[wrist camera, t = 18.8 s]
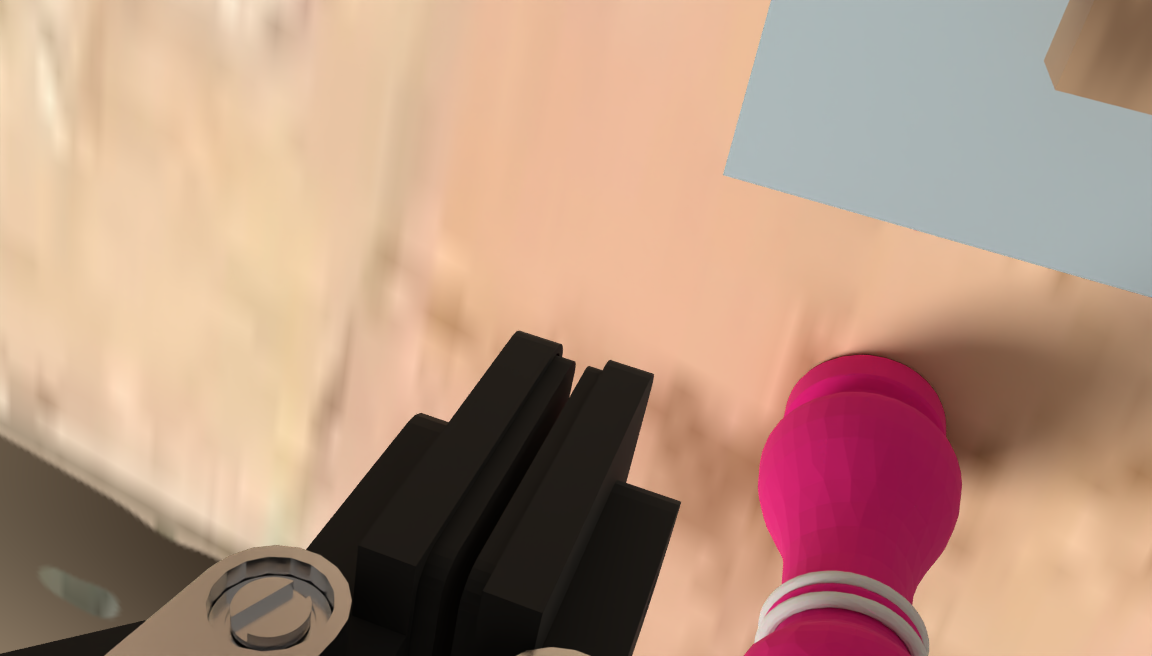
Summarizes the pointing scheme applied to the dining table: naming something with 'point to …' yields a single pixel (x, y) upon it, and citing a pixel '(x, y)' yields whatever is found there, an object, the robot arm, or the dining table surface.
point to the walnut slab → (1104, 52)
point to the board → (949, 131)
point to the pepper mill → (855, 510)
